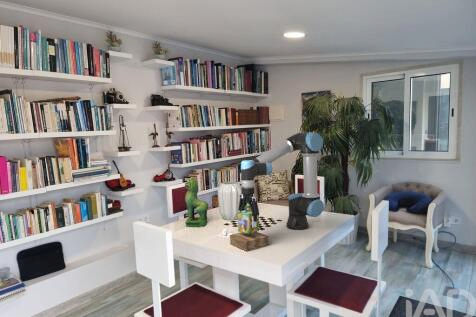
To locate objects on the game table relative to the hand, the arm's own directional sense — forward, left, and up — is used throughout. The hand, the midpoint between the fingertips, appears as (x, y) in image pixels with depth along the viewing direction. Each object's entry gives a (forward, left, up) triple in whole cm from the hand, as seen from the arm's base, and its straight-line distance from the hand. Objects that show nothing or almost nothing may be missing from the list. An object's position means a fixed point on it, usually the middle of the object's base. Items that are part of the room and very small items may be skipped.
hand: (248, 224), depth 195 cm
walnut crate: (0, 0, -12) cm, 12 cm away
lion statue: (+3, -58, -12) cm, 59 cm away
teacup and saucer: (+2, -21, -13) cm, 25 cm away
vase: (-26, -57, -12) cm, 64 cm away
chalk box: (0, 0, -4) cm, 4 cm away
